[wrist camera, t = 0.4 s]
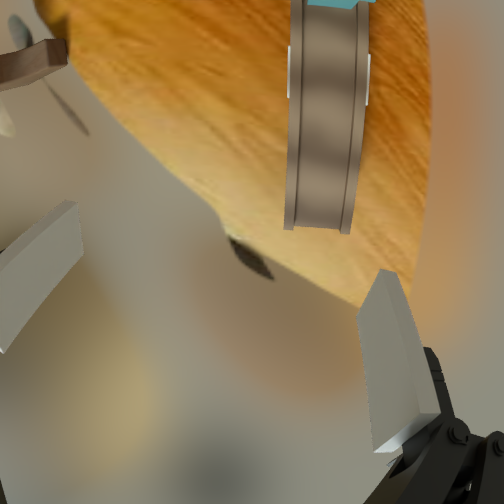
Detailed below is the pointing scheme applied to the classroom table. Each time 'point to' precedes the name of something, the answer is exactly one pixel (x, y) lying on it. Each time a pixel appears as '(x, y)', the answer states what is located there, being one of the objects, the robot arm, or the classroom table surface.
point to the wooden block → (32, 63)
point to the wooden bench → (325, 113)
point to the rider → (336, 3)
